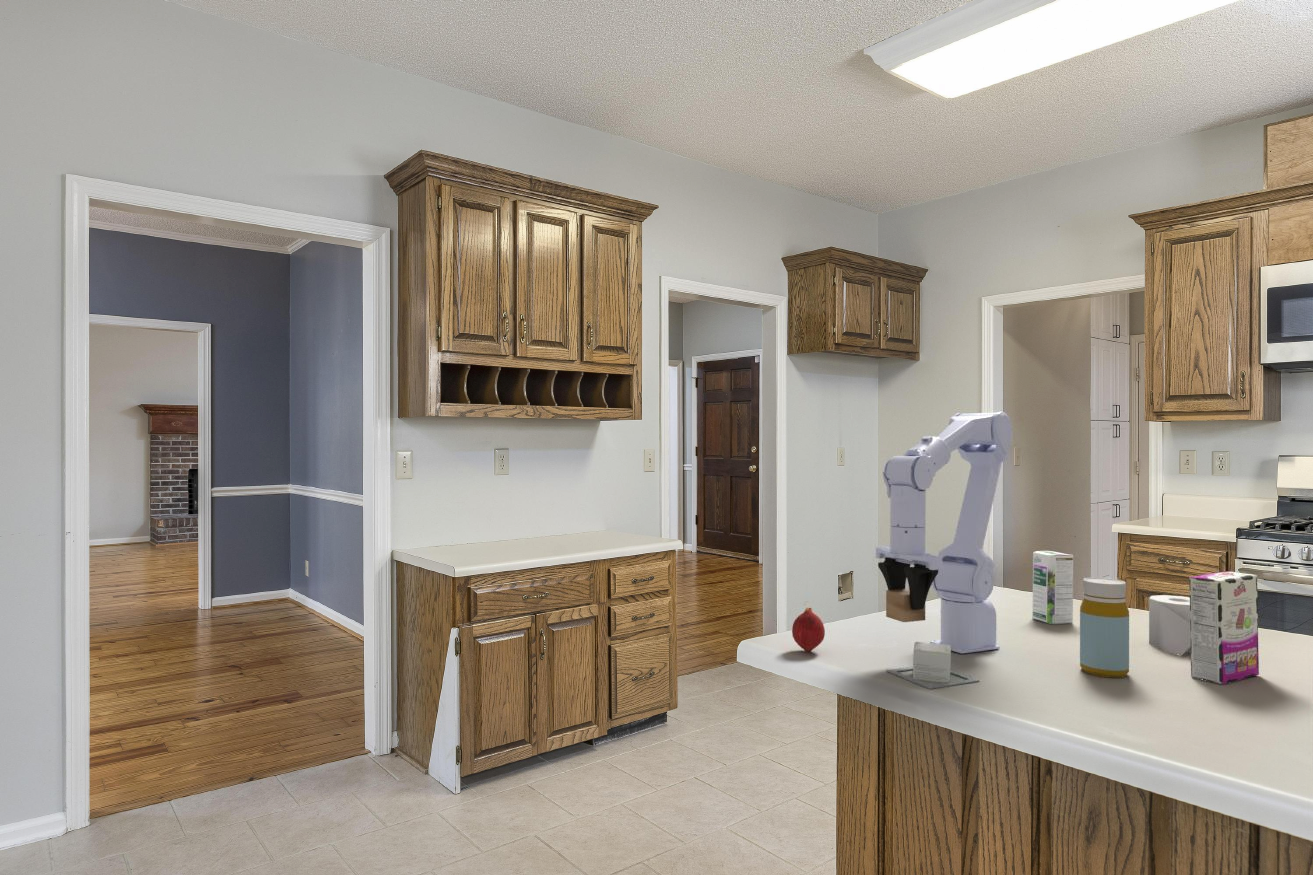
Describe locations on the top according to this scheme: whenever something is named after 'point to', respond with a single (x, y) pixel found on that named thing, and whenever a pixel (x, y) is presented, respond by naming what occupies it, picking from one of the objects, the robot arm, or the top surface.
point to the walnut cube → (902, 606)
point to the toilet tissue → (1170, 623)
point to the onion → (808, 630)
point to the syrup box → (1052, 587)
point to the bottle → (1104, 628)
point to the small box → (932, 662)
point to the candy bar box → (1224, 627)
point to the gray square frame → (969, 680)
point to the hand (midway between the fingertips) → (907, 606)
